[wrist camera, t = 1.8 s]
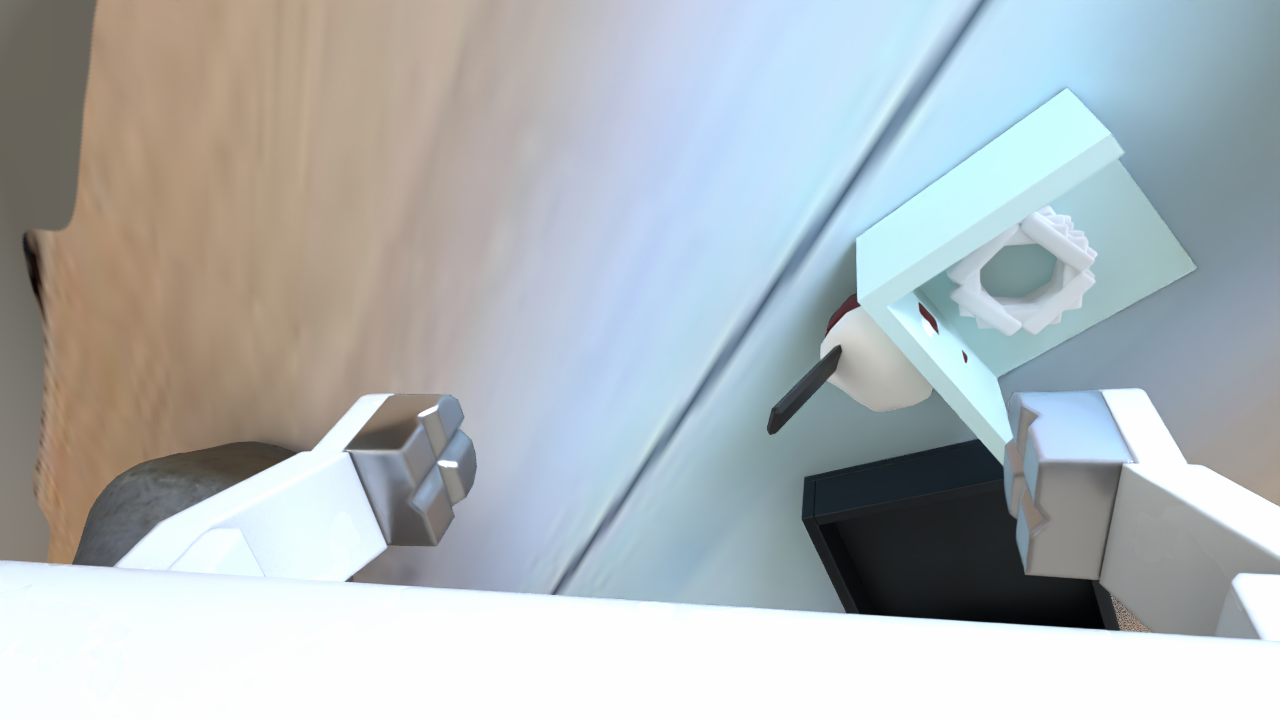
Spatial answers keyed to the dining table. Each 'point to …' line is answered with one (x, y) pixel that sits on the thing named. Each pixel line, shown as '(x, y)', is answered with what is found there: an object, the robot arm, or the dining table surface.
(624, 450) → the dining table surface
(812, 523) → the tray
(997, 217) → the pale cyan corner bracket
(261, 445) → the pitcher
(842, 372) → the cocoa
